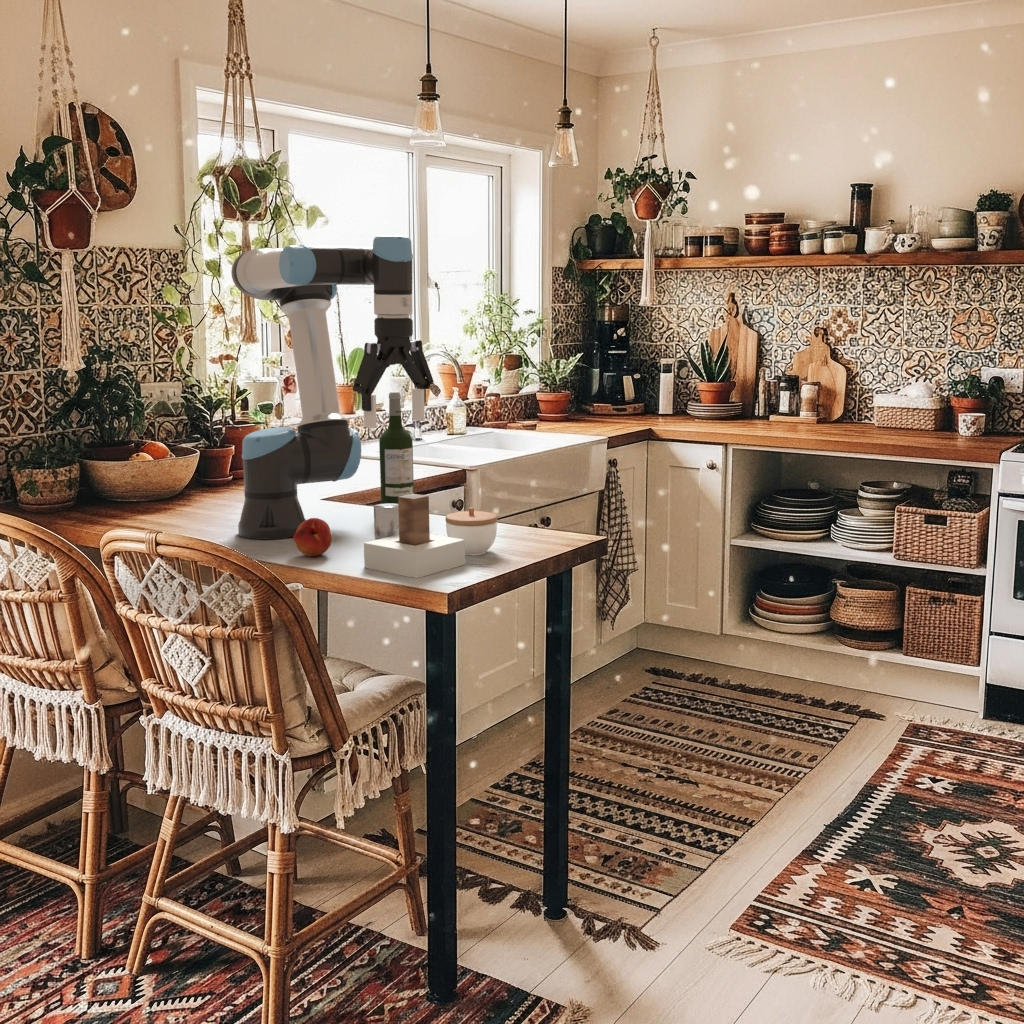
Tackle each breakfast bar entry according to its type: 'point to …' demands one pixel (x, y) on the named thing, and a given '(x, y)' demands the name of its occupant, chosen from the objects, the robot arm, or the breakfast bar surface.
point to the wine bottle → (395, 456)
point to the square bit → (413, 519)
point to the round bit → (386, 520)
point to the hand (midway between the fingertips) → (394, 424)
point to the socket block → (414, 555)
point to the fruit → (313, 537)
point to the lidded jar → (473, 530)
